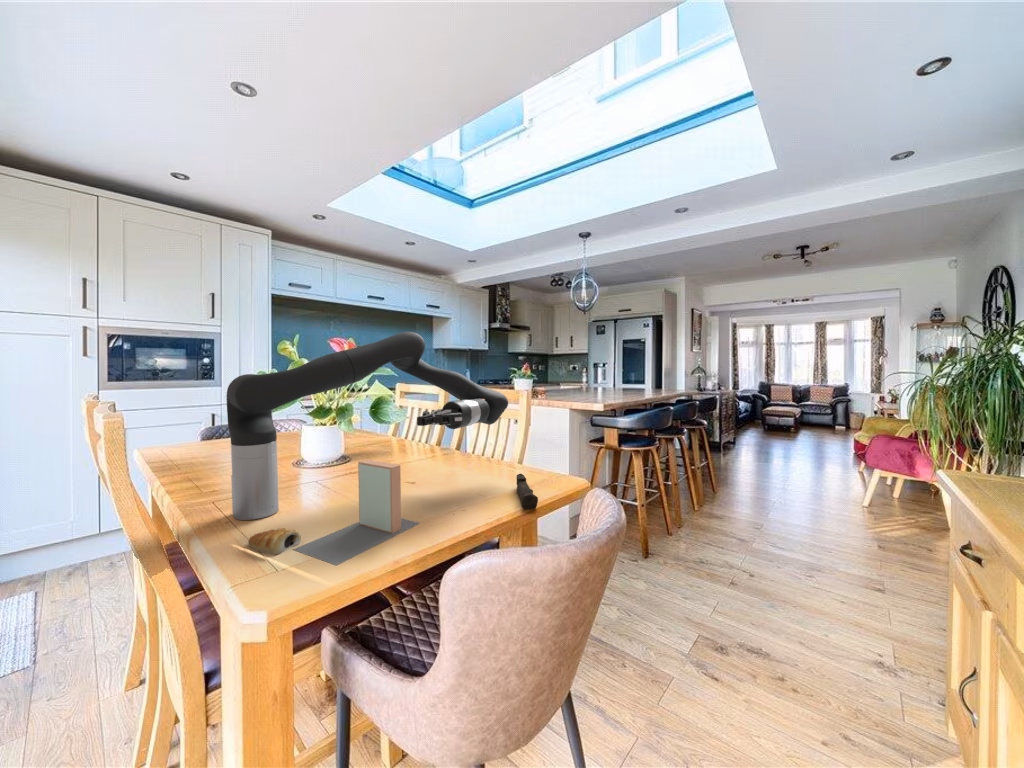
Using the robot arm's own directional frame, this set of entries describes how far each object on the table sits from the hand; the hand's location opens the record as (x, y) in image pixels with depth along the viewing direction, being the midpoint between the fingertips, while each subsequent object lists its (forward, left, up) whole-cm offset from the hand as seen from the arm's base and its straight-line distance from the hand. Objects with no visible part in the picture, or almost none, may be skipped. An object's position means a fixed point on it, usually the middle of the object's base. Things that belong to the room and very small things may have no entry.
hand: (419, 421), depth 101 cm
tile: (0, -13, -21) cm, 25 cm away
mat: (0, -18, -22) cm, 28 cm away
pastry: (-11, -30, -22) cm, 39 cm away
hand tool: (+17, +21, -22) cm, 35 cm away
